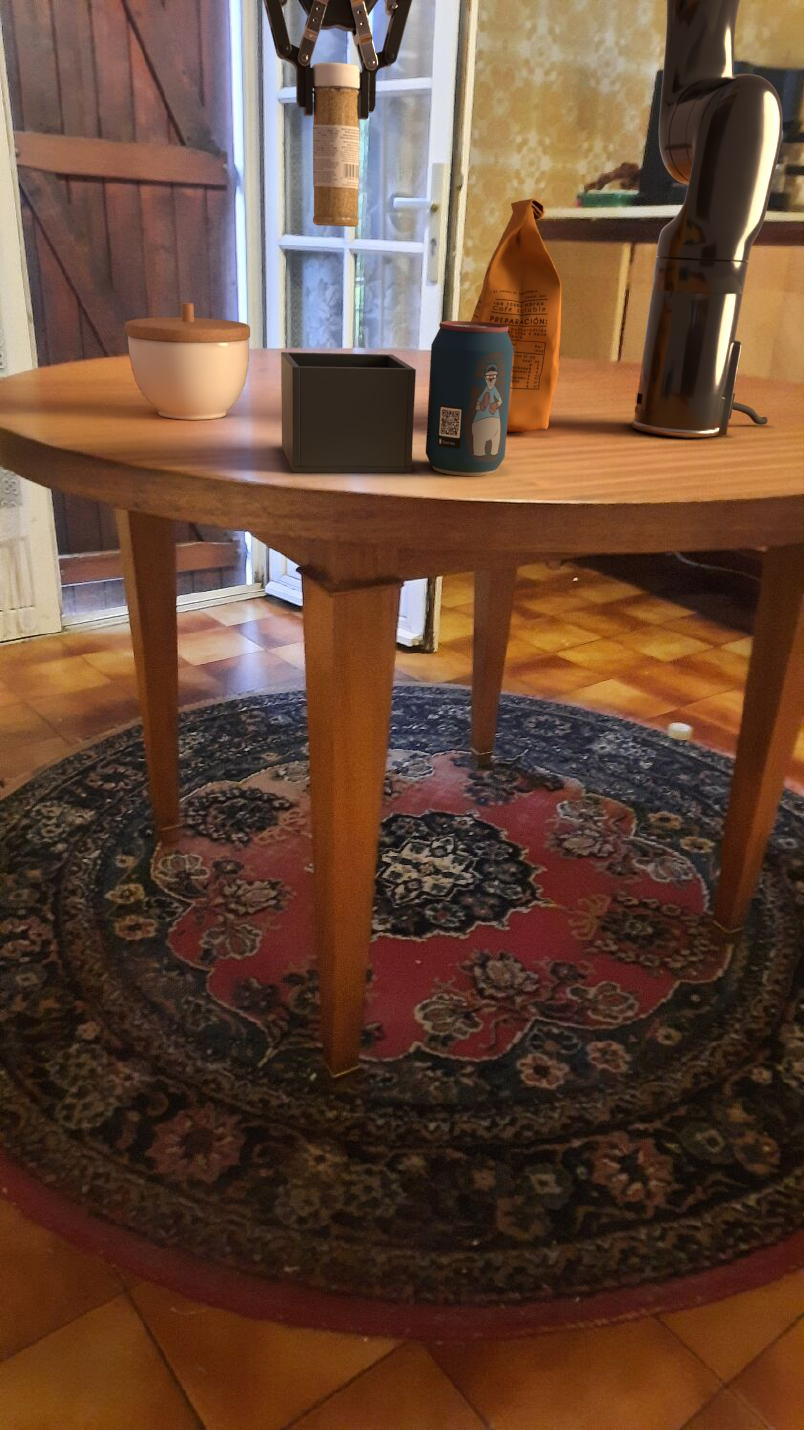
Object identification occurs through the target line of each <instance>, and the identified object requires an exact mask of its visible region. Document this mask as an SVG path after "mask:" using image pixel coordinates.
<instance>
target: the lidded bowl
mask: <svg viewBox="0 0 804 1430" xmlns="http://www.w3.org/2000/svg"><path fill="white" fill-rule="evenodd" d="M180 305H181V307H180V308H181V317H178V316H177V317H172V316H171V317H170V316H169V317H145V318H135V319H130V320H127V321H125V324H124V325H125V334H126V335H127V345H128V356H129V361H130V362H129V363H130V366H131V367H130V368H131V372H132V375H133V378H134V381H135V384H136V385H137V388H138V390H139V391H140V393H141V395H142V396H143V397H144V399H145V400H147V402H148V403H149V404H150V405H151V406H152V407H153V408H154V409H156V411H157V414H158V416H160V417H162V418H167V419H173V420H174V419H175V420H186V421H187V420H189V421H191V420H192V421H193V420H195V421H196V420H197V421H198V420H200V421H202V420H214V419H215V420H216V419H220V418H223V417H226V416H227V411H228V410H229V409H230V408H231V407H233V405H234V404H235V403H236V402H237V401H238V399H239V398H240V396H241V394H242V392H243V390H244V387H245V384H246V382H247V377H248V372H249V363H250V338H251V327H250V325H249V324H248V323H246V322H241V321H237V320H236V321H235V320H228V319H227V320H226V319H218V318H207V317H206V318H205V317H195V309H194V303H193V302H181V303H180Z"/></svg>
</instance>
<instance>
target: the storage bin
mask: <svg viewBox="0 0 804 1430" xmlns="http://www.w3.org/2000/svg"><path fill="white" fill-rule="evenodd" d="M280 368H281V369H280V378H281V379H280V381H281V382H280V386H281V389H280V392H281V397H280V399H281V449H282V451H283V453H284V455H285V459H286V460H287V462H288V464H289V467H290V468H291V471H292V473H293V474H302V473H303V474H313V473H314V474H316V473H317V474H323V473H324V474H325V473H326V474H328V473H329V474H330V473H331V474H333V473H336V474H337V473H338V474H339V473H340V474H342V473H343V474H344V473H345V474H349V473H351V474H352V473H353V474H354V473H364V474H365V473H366V474H367V473H369V474H372V473H379V474H381V473H392V474H393V473H403V474H405V473H412V465H413V464H412V463H413V440H414V420H415V401H416V400H415V397H416V378H417V377H416V376H417V374H416V373H417V369H416V368H414V367H412V366H411V365H410V364H408V363H406V362H405V361H403V360H402V359H400V358H399V357H397V356H396V355H394V354H391V353H389V354H385V353H380V354H379V353H344V352H343V353H341V352H340V353H339V352H337V353H336V352H297V351H295V352H293V351H292V352H290V351H289V352H287V351H282V352H281V353H280Z"/></svg>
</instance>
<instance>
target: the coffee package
mask: <svg viewBox="0 0 804 1430" xmlns="http://www.w3.org/2000/svg"><path fill="white" fill-rule="evenodd" d="M510 206H511V210H512V211H511V212H512V214H511V216H510V219H509V221H508V222H507V225H506V227H505V229H504V231H503V233H502V235H501V237H500V239H499V242H498V244H497V245H496V248H495V249H494V252H493V254H492V255H491V256H492V257H491V258H490V260H489V263H488V265H487V268H486V270H485V275H484V278H483V281H482V288H481V290H480V291H481V292H480V294H479V296H478V299H477V302H476V305H475V308H474V311H473V314H472V317H471V320H470V321H472V322H487V323H497V324H503V325H507V326H508V331H507V332H508V335H509V338H510V340H511V343H512V346H513V349H514V350H513V362H512V374H511V386H510V398H509V410H508V422H507V433H520V432H534V431H539V430H547V429H548V427H549V425H550V424H549V422H550V416H551V413H552V412H551V411H552V405H553V400H554V395H555V391H556V387H557V384H558V377H559V372H560V357H561V329H562V283H561V280H560V276H559V273H558V271H557V269H556V266H555V264H554V262H553V259H552V257H551V255H550V253H549V250H548V248H547V247H546V245H545V242H544V241H543V238H542V237H541V234H540V231H539V229H538V225H537V223H536V221H537V220H540V219H542V218H543V217H544V216H545V214H546V210H545V206H544V204H543V203H542V202H541V201H540V200H538V199H536V198H533V197H532V198H529V199H522V200H518V201H514V202H511V203H510Z"/></svg>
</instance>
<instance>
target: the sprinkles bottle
mask: <svg viewBox="0 0 804 1430" xmlns="http://www.w3.org/2000/svg"><path fill="white" fill-rule="evenodd" d="M311 68H313V125H312V185H313V217H312V222H313V224H314V225H315V226H326V227H327V226H329V227H332V226H333V227H349V228H353V227H354V228H355V227H357V226H358V225H359V218H358V191H359V186H360V185H359V184H360V181H359V180H360V128H359V123H360V122H359V120H360V119H359V116H358V112H359V107H358V105H359V102H358V100H359V94H360V93H359V90H360V89H361V67H359V65H356V64H352V63H344V62H320V63H315V64H313V65H311Z"/></svg>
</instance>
